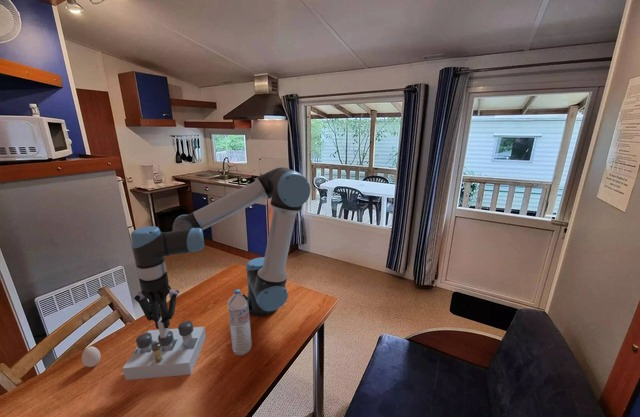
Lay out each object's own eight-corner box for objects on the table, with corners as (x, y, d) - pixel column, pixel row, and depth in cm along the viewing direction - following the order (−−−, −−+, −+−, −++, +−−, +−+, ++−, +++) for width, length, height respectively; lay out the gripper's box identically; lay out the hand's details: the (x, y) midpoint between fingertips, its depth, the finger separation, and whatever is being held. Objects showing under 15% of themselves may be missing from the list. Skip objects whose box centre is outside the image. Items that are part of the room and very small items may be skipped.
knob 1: (157, 349, 93) (153, 332, 90) (151, 359, 88) (147, 342, 86) (144, 350, 92) (140, 333, 90) (137, 360, 88) (133, 343, 86)
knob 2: (196, 337, 93) (194, 320, 91) (192, 347, 89) (189, 329, 87) (184, 338, 92) (181, 321, 90) (179, 348, 88) (175, 330, 86)
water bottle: (234, 359, 91) (228, 299, 83) (231, 345, 97) (225, 287, 89) (253, 352, 94) (249, 293, 87) (249, 339, 100) (245, 282, 92)
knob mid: (177, 346, 93) (174, 330, 91) (172, 357, 89) (169, 339, 87) (165, 347, 93) (161, 331, 91) (159, 358, 89) (155, 340, 86)
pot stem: (165, 356, 86) (162, 341, 84) (161, 363, 83) (158, 348, 81) (156, 357, 85) (153, 342, 84) (152, 363, 83) (149, 349, 81)
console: (205, 337, 100) (204, 326, 99) (191, 374, 85) (189, 362, 84) (150, 341, 98) (148, 330, 96) (125, 380, 83) (122, 368, 81)
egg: (85, 363, 88) (79, 346, 86) (103, 357, 91) (98, 340, 89) (83, 373, 85) (77, 356, 82) (102, 366, 87) (96, 349, 85)
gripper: (179, 267, 86) (188, 325, 93) (137, 269, 84) (150, 328, 91) (169, 280, 79) (180, 342, 86) (123, 282, 77) (138, 345, 84)
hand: (164, 334), depth 89 cm, fingers closed
